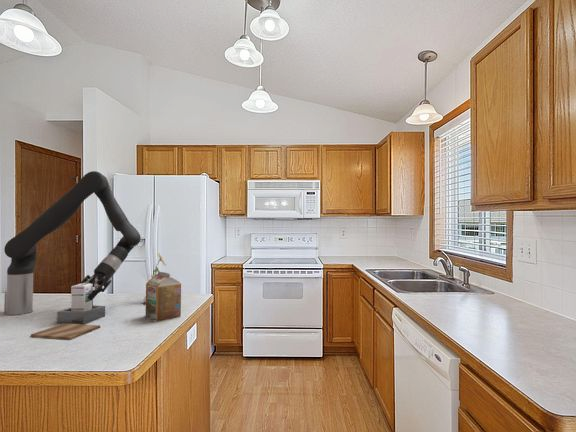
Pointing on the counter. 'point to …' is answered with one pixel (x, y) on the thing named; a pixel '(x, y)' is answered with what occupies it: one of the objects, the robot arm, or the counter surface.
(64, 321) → the square socket
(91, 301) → the syrup box
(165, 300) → the milk carton
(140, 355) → the counter surface
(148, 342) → the counter surface
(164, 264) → the flower in vase
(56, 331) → the walnut mat
